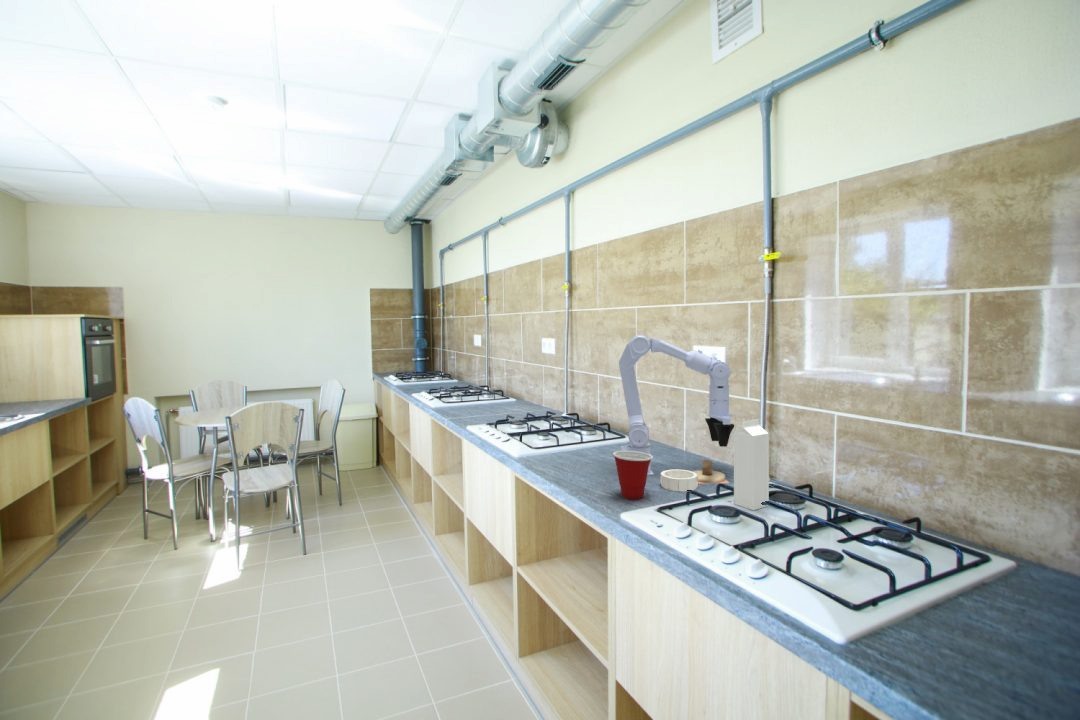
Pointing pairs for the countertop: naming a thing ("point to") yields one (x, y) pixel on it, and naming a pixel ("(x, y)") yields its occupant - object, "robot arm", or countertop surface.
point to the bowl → (679, 480)
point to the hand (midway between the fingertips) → (719, 443)
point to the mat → (710, 483)
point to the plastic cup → (632, 472)
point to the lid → (709, 473)
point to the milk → (751, 465)
